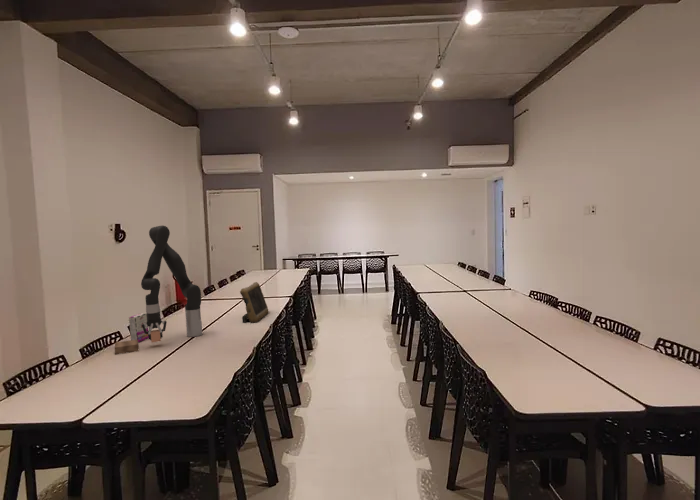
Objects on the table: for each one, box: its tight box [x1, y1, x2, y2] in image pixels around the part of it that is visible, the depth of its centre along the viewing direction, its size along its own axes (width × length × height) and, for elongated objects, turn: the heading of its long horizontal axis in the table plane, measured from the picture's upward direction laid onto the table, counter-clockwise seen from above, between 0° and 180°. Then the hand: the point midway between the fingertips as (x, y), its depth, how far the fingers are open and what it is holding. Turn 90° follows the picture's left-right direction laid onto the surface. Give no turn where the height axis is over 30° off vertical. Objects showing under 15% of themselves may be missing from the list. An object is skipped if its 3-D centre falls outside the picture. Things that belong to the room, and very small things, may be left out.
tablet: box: [239, 281, 269, 324], centre depth 333 cm, size 33×14×25 cm, turn 179°
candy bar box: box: [128, 312, 149, 343], centre depth 281 cm, size 11×5×16 cm, turn 168°
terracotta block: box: [150, 329, 162, 343], centre depth 268 cm, size 5×5×6 cm
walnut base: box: [114, 339, 139, 355], centre depth 262 cm, size 12×12×4 cm
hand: (155, 339), depth 268 cm, fingers closed on terracotta block, 5 cm apart
